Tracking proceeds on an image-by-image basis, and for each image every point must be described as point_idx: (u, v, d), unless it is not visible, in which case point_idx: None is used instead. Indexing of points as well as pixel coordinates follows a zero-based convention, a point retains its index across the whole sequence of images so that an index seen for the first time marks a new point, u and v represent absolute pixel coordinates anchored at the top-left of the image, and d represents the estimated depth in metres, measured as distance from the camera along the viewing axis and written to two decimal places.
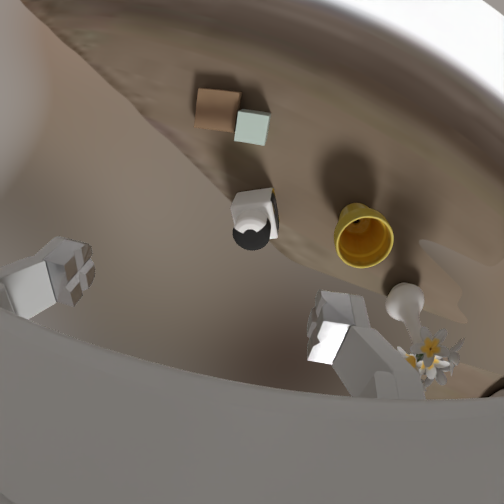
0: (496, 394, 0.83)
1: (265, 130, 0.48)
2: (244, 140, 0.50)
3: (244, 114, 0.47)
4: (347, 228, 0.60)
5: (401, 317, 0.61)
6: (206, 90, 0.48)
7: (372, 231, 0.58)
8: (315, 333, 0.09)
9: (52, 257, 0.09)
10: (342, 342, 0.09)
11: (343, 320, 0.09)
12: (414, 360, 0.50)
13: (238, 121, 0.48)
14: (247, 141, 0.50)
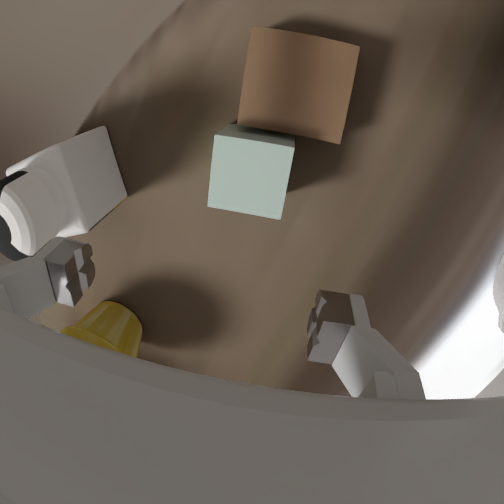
0: None
1: (244, 209, 0.21)
2: (216, 160, 0.20)
3: (286, 161, 0.19)
4: None
5: None
6: (352, 65, 0.17)
7: None
8: (315, 333, 0.09)
9: (52, 257, 0.09)
10: (343, 342, 0.09)
11: (343, 320, 0.09)
12: None
13: (267, 146, 0.19)
14: (214, 167, 0.20)
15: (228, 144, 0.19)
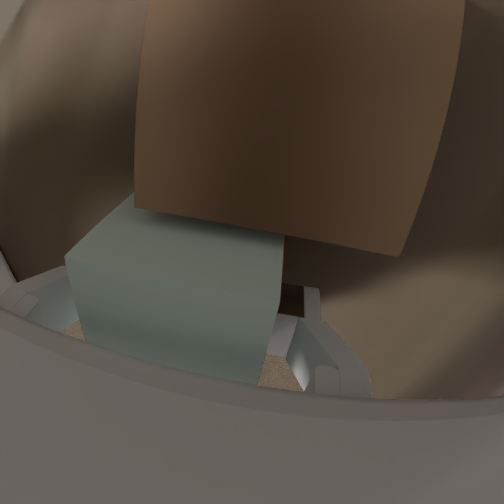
0: None
1: None
2: (85, 313, 0.07)
3: (254, 333, 0.07)
4: None
5: None
6: (451, 45, 0.05)
7: None
8: None
9: None
10: (293, 335, 0.09)
11: (292, 312, 0.09)
12: None
13: (198, 296, 0.07)
14: (87, 325, 0.08)
15: (99, 282, 0.07)
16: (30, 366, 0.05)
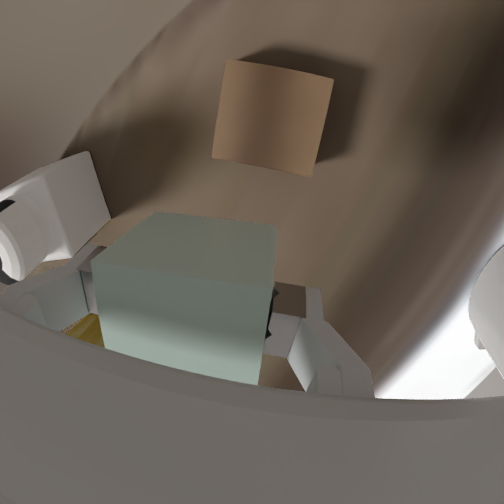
0: None
1: None
2: (106, 313, 0.09)
3: (253, 319, 0.08)
4: None
5: None
6: (326, 99, 0.18)
7: None
8: None
9: (87, 266, 0.09)
10: (295, 336, 0.09)
11: (293, 312, 0.09)
12: None
13: (204, 288, 0.08)
14: (106, 326, 0.09)
15: (120, 282, 0.08)
16: (30, 366, 0.05)
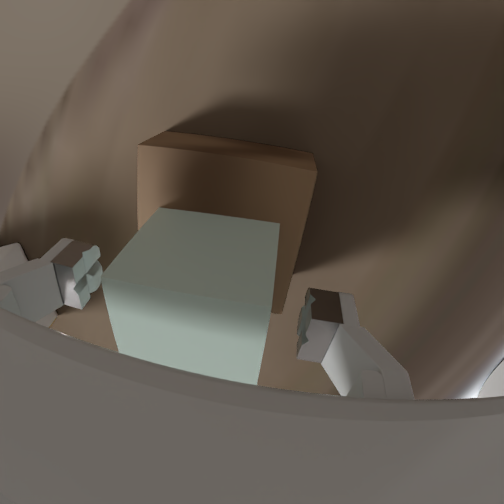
0: None
1: None
2: (117, 320, 0.09)
3: (254, 331, 0.09)
4: None
5: None
6: (303, 206, 0.12)
7: None
8: (304, 331, 0.09)
9: (60, 259, 0.09)
10: (331, 341, 0.09)
11: (331, 318, 0.09)
12: None
13: (209, 304, 0.09)
14: (118, 330, 0.10)
15: (130, 296, 0.09)
16: (30, 366, 0.05)
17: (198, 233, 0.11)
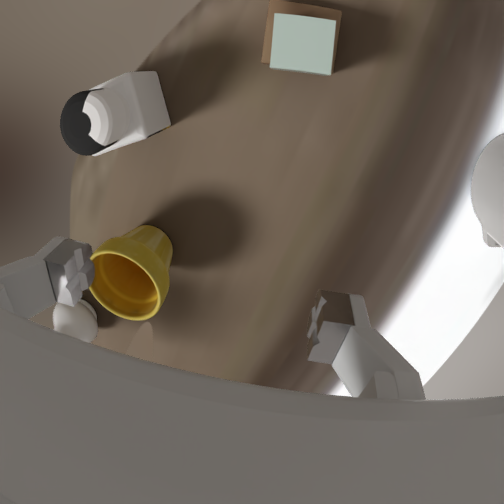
0: None
1: (301, 68, 0.23)
2: (276, 31, 0.21)
3: (330, 30, 0.20)
4: None
5: None
6: (337, 23, 0.24)
7: (140, 274, 0.42)
8: (315, 333, 0.09)
9: (52, 257, 0.09)
10: (343, 342, 0.09)
11: (343, 320, 0.09)
12: None
13: (315, 20, 0.20)
14: (275, 36, 0.21)
15: (285, 19, 0.20)
16: (30, 366, 0.05)
17: None
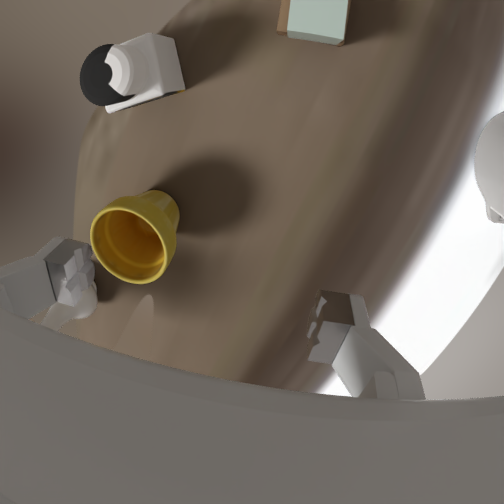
0: None
1: (316, 32, 0.22)
2: None
3: (343, 0, 0.20)
4: None
5: None
6: None
7: (145, 240, 0.42)
8: (315, 333, 0.09)
9: (52, 257, 0.09)
10: (343, 342, 0.09)
11: (343, 320, 0.09)
12: None
13: None
14: (292, 3, 0.21)
15: None
16: (30, 366, 0.05)
17: None
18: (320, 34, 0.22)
